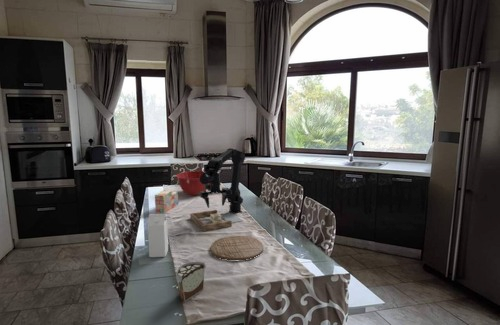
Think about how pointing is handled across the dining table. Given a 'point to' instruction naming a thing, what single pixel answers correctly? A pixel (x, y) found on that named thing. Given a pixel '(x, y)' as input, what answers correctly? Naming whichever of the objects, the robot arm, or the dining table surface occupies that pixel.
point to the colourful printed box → (165, 201)
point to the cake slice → (190, 279)
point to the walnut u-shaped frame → (208, 226)
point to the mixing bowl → (191, 182)
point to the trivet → (237, 248)
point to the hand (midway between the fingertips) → (215, 206)
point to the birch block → (215, 218)
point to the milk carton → (157, 235)
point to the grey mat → (231, 218)
